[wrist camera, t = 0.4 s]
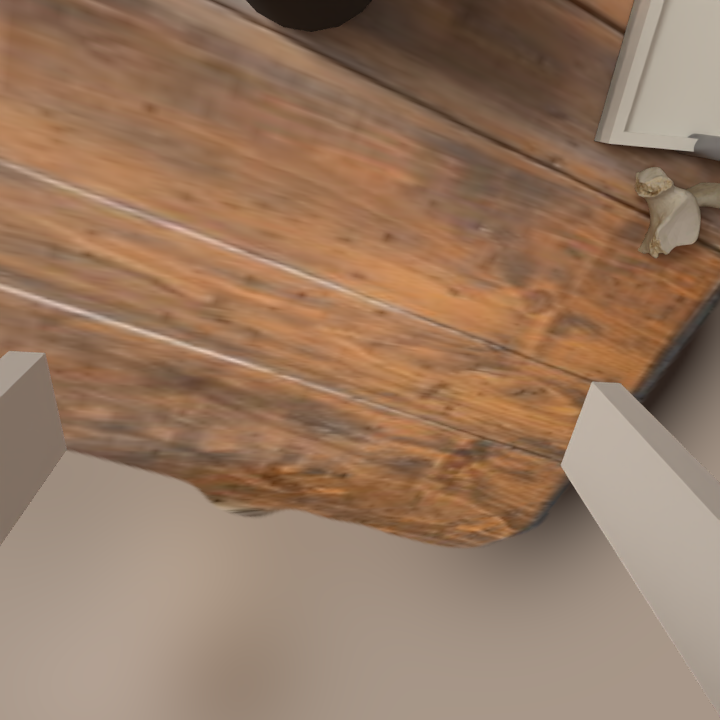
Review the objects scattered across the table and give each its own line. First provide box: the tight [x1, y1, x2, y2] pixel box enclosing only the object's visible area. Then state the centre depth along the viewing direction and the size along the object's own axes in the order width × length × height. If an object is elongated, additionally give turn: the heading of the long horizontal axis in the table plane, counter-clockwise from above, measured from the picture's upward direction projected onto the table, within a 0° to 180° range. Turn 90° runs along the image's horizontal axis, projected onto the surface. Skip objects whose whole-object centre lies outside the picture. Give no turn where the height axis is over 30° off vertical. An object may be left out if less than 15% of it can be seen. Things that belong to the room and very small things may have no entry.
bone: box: [635, 167, 720, 258], centre depth 34 cm, size 9×6×10 cm
